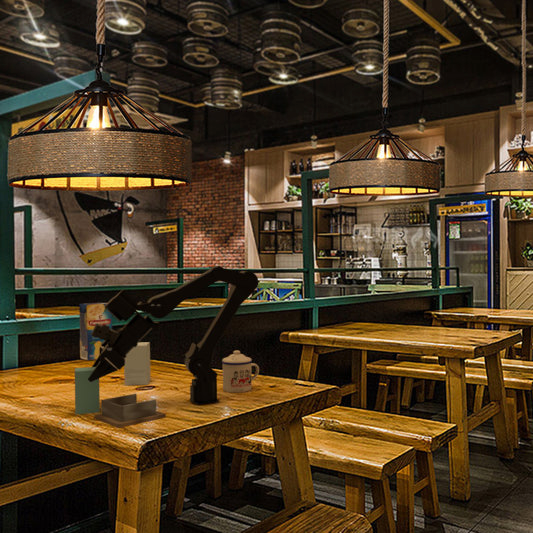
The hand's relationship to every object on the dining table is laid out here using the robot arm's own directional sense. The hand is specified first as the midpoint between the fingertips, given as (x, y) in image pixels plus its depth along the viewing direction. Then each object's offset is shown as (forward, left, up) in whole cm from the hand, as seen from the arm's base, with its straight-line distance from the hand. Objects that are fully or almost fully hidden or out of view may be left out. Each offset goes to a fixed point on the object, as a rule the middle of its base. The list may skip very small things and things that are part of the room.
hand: (89, 377), depth 154 cm
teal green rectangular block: (+1, 0, -9) cm, 9 cm away
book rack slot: (-7, +12, -9) cm, 17 cm away
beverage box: (-22, -87, -9) cm, 90 cm away
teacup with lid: (-45, -2, -9) cm, 46 cm away
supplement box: (-21, -28, -9) cm, 37 cm away
